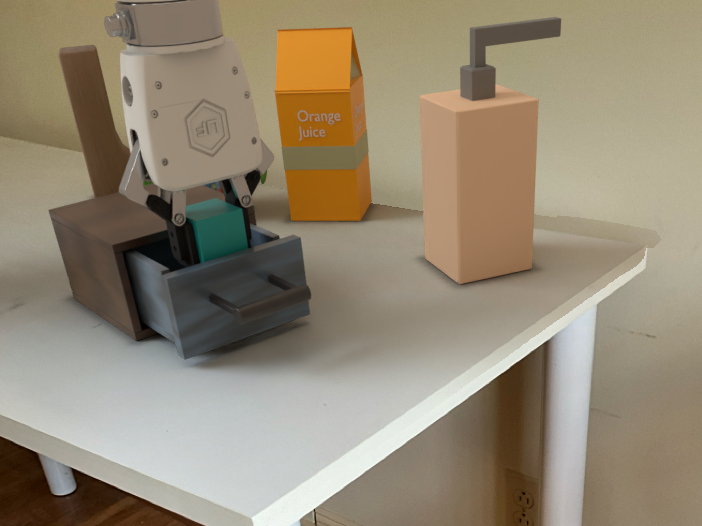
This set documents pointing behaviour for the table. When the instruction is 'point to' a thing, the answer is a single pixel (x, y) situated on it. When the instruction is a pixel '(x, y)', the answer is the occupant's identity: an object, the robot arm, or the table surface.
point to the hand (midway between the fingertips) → (214, 256)
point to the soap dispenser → (481, 164)
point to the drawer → (219, 291)
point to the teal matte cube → (217, 228)
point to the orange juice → (322, 124)
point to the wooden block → (94, 118)
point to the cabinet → (112, 250)
